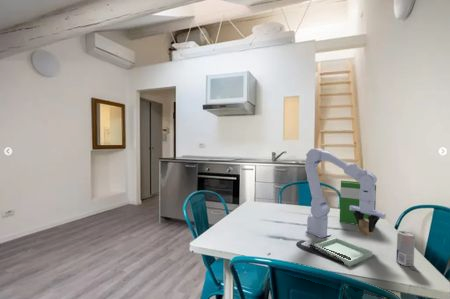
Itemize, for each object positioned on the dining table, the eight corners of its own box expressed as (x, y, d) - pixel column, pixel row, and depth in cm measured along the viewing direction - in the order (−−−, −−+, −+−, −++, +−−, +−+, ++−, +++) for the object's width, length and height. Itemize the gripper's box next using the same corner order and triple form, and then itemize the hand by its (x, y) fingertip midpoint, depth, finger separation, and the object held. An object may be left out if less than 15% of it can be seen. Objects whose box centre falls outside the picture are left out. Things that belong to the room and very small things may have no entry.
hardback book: (339, 221, 136) (341, 182, 135) (339, 218, 142) (340, 180, 142) (374, 227, 128) (376, 185, 127) (372, 223, 135) (374, 183, 134)
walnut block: (358, 232, 102) (359, 219, 102) (363, 231, 104) (363, 218, 104) (367, 236, 99) (368, 222, 99) (372, 234, 101) (373, 221, 101)
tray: (314, 249, 99) (314, 244, 99) (336, 241, 107) (336, 237, 107) (349, 267, 86) (349, 261, 86) (372, 256, 94) (372, 251, 94)
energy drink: (405, 260, 92) (407, 230, 91) (417, 267, 86) (418, 236, 86) (392, 260, 92) (394, 230, 91) (403, 267, 86) (405, 236, 86)
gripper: (389, 202, 97) (388, 234, 97) (355, 195, 110) (354, 223, 110) (381, 204, 93) (379, 237, 94) (347, 197, 106) (346, 225, 106)
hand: (365, 230), depth 102 cm, fingers closed on walnut block, 4 cm apart
